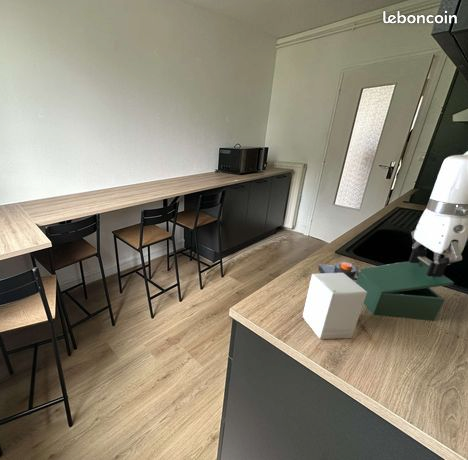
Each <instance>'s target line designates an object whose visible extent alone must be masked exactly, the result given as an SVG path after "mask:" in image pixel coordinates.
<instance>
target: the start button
mask: <svg viewBox="0 0 468 460" xmlns="http://www.w3.org/2000/svg"><path fill="white" fill-rule="evenodd" d="M340 263H341V266H340V268H342V269H344V270H351V268H352V266H353V264H352V263H350V262H347V261H342V262H340Z"/></svg>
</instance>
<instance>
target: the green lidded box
mask: <svg viewBox="0 0 468 460" xmlns="http://www.w3.org/2000/svg"><path fill="white" fill-rule="evenodd" d="M357 277H358V279H357V280H356V282H355V283H356V284H358V285H359V286H360V287H362V288H363V289H364V290H365V291H367V295H366V298H365V301H364V303H363V305H365V306H366V308H367V309H368V311H369V312H370V313H371V314H372V315H373V316H380V317H389V318H390V317H391V318H401V319H409V320H410V319H411V320H421V321H429V322H430V321H431V322H434V321H436V319H437V317H438V315H439V313H440V310H441V309H442V307H443V304H444V302H445V298H443V297H442V296H441V295H440V294H439V293H438V292H436V291H435V290H434V289H433V288H432V287H431V288H423V289H415V290H408V291H400V292H393V293H385V294H381V293H380V292H379V291H378V290H377V288H376V287H375V286H374V285H373V284H372V283H371V282H370V281H369V280H368V279H367V278H366V277H365V276H364V275H363V273H362V272H361V271H360V270H359V273H358V275H357Z"/></svg>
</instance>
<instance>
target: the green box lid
mask: <svg viewBox="0 0 468 460" xmlns="http://www.w3.org/2000/svg"><path fill="white" fill-rule="evenodd" d="M416 259H418V263H410V262H409V260H408V261H401V262H395V263H389V264H382V265H377V266H371V267H363V268H360V269H359V272H360V271H361V272H362V273H363V275H364V276H365V277H366V278H367V279H368V280H369V281H370V282H371V283H372V284H373V285H374V286H375V287H376V288H377V290H378V291H379V292H380V293H381V294H385V293H393V292H400V291H408V290H415V289H423V288H431V289H432V288H439V287H446V286H453V285H454V283H455V282H454V281H453V280H451V279H450V278H448V277H447V276H446V275H444V274H443V275H442V276H441V277H434V276H427V275H426V273H427V271H428V268H429V266H430V263H431V262H433V261H432V259H429V258H428V257H427V256H423V255H422V254H418V255H417V256H416Z"/></svg>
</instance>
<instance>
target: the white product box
mask: <svg viewBox="0 0 468 460" xmlns="http://www.w3.org/2000/svg"><path fill="white" fill-rule="evenodd" d="M310 277H311V278H310V282H309V285H308V291H307V294H306V298H305V299H306V300H305V304H304V307H303V313H302V318H303V319H304V320H305V322H306V323H307V325H308V326H309V327H310V328H311V330H312V331H313V333H314V334H315V335H316V336H317V338H318V339H319V340H331V339H351V338H353V334H354V333H355V329H356V326H357V323H358V321H359V318H360V315H361V312H362V309H363V306H364V301H365V298H366V295H367V291H365V290H364V289H363V288H362V287H360V286H359V285H358V284H356V282H355V280H352V279H350V278H349V277H348V276H347V275H345V274H344V273H323V274H321V273H312V274H311V276H310Z"/></svg>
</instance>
